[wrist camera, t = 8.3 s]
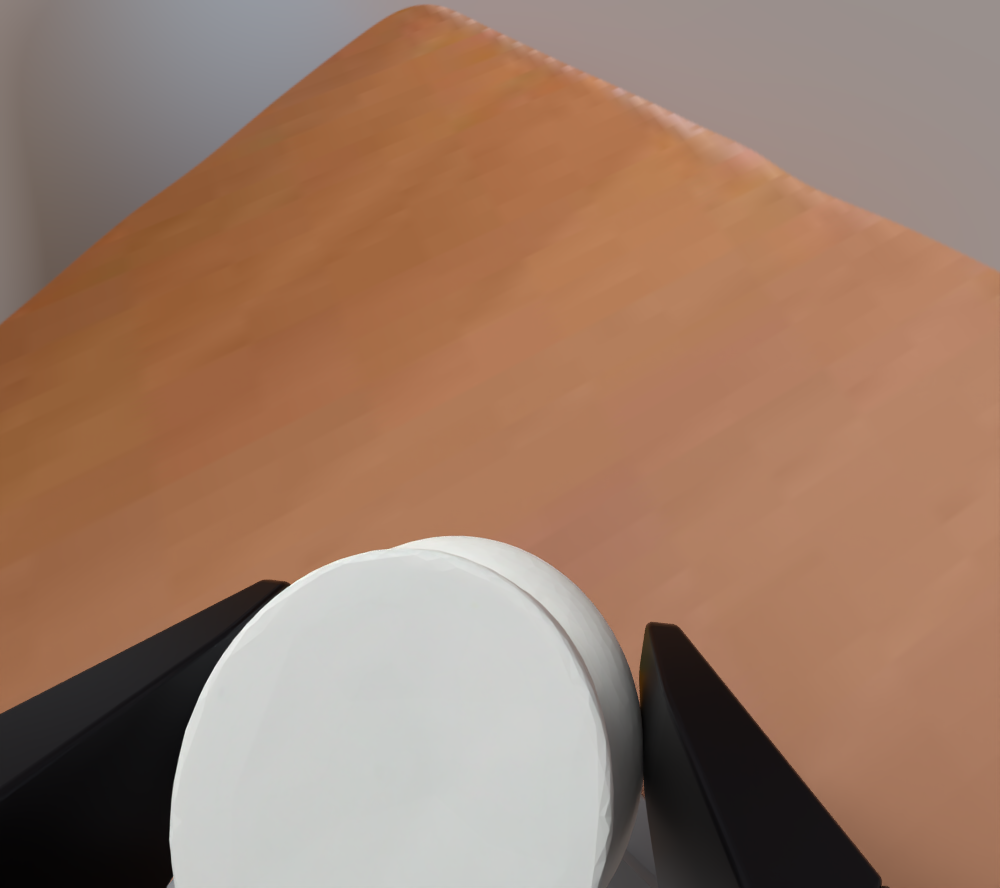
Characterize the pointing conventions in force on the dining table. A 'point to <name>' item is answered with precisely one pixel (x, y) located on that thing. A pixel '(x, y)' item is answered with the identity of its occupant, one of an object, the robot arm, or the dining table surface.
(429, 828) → the supplement bottle
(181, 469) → the dining table surface
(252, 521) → the dining table surface
